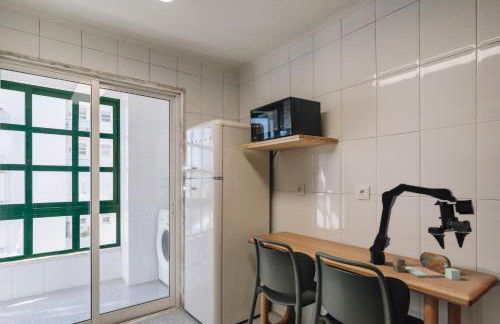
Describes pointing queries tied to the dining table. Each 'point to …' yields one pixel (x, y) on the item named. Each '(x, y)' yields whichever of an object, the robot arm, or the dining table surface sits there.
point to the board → (422, 272)
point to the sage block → (452, 273)
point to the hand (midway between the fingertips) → (452, 248)
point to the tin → (435, 262)
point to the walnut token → (398, 264)
